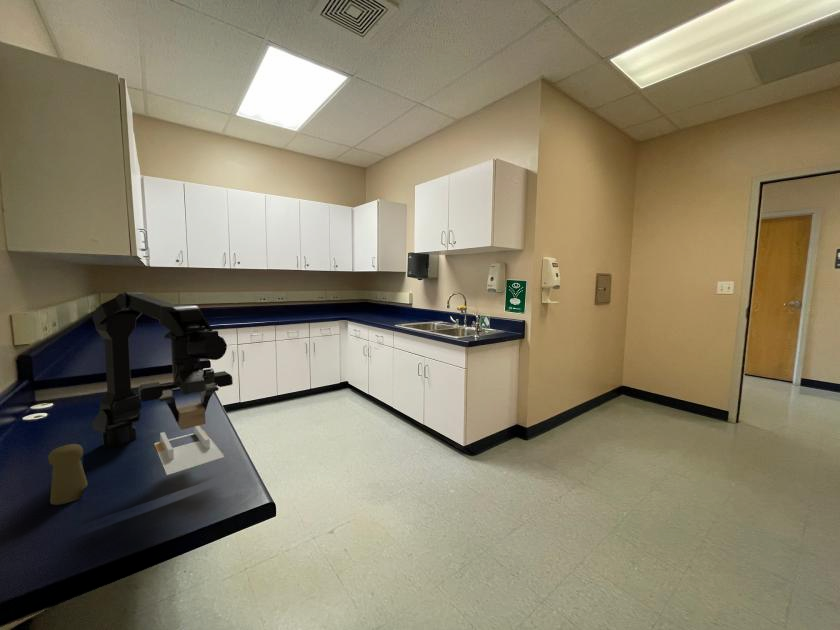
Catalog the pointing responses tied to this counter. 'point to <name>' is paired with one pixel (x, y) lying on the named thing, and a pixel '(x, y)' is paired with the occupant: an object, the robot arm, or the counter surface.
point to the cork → (67, 474)
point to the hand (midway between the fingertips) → (190, 418)
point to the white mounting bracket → (187, 452)
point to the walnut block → (191, 415)
